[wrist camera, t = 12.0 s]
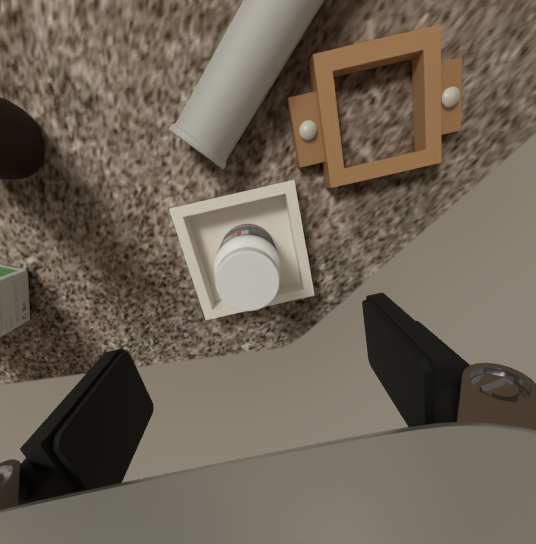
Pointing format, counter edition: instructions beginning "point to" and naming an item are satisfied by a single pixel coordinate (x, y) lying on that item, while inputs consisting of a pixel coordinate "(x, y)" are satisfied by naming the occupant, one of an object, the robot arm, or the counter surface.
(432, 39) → the brown flat square frame
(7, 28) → the counter surface
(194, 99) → the tube
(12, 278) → the skincare box
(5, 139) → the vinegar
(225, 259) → the pill bottle
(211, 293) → the parts tray
